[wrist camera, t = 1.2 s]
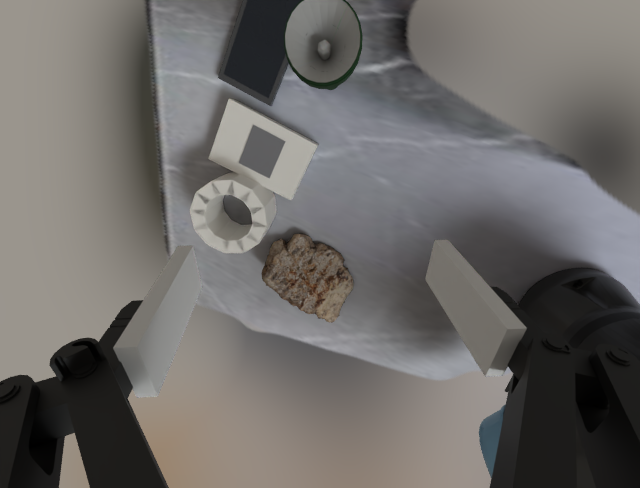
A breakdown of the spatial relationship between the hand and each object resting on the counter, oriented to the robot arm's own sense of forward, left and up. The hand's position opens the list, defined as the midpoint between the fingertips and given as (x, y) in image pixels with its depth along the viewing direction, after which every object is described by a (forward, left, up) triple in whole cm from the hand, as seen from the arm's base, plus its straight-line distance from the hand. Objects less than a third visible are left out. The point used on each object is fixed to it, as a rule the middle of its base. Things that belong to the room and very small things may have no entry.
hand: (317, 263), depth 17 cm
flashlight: (+5, -11, -27) cm, 30 cm away
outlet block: (+9, +5, -27) cm, 29 cm away
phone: (+14, -12, -27) cm, 33 cm away
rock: (-5, +14, -28) cm, 32 cm away
